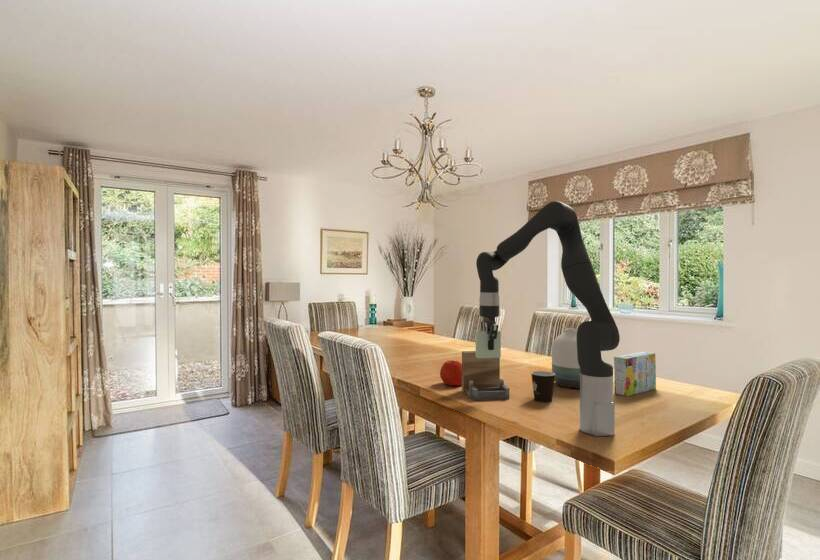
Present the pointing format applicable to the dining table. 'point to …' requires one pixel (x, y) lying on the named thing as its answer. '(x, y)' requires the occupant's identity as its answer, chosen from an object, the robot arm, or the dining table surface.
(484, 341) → the pale green flat block
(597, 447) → the dining table surface
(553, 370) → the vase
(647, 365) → the snack box
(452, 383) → the apple
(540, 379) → the coffee mug
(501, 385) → the desk organizer
